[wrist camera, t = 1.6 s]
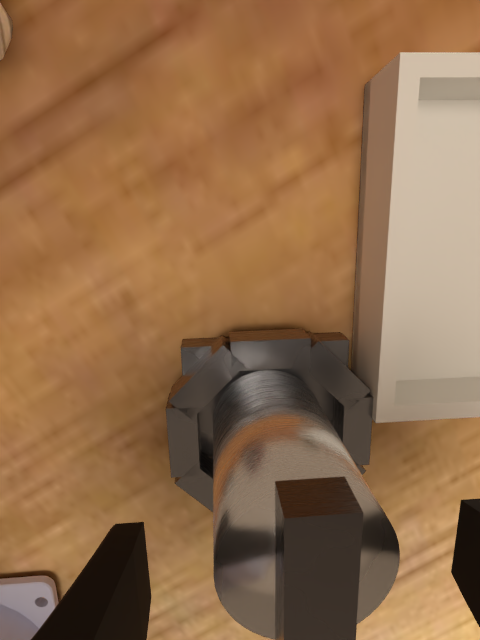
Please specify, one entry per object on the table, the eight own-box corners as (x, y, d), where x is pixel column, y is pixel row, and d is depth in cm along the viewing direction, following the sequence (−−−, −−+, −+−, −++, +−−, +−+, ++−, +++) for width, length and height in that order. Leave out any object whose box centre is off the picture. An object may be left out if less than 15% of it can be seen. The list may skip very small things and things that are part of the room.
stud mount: (345, 478, 16) (365, 516, 14) (180, 489, 16) (175, 531, 14) (353, 319, 15) (377, 335, 13) (168, 326, 14) (160, 344, 12)
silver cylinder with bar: (318, 468, 15) (414, 690, 8) (215, 475, 15) (218, 711, 8) (321, 362, 14) (435, 507, 7) (210, 367, 14) (208, 523, 7)
